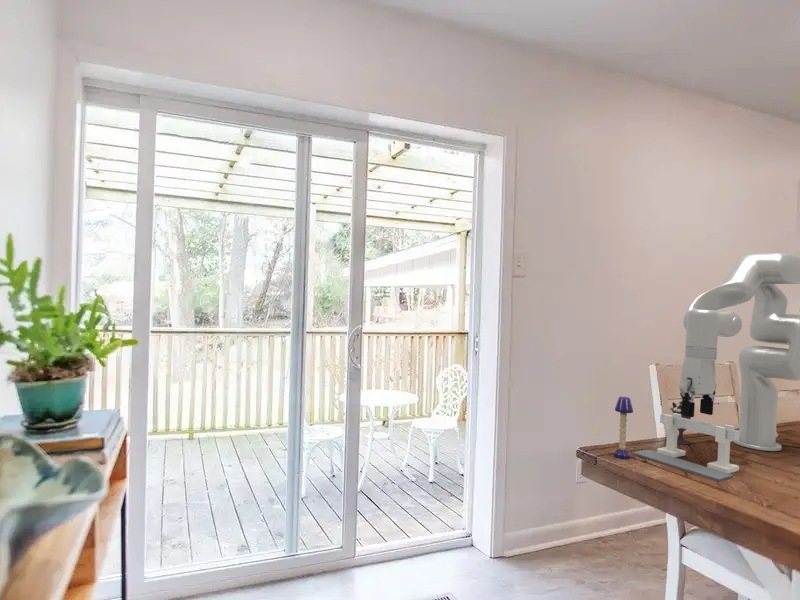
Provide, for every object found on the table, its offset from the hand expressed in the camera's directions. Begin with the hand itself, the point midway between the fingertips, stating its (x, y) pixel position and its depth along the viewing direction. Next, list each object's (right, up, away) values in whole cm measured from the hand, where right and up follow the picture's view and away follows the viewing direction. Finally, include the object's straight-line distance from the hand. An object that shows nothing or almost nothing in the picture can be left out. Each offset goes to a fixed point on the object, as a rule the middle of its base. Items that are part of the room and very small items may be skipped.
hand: (696, 414), depth 138 cm
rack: (0, -13, 0) cm, 13 cm away
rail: (0, -3, 0) cm, 3 cm away
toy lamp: (-20, -12, +2) cm, 24 cm away
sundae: (+7, -13, +20) cm, 25 cm away
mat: (-7, -13, -4) cm, 15 cm away
